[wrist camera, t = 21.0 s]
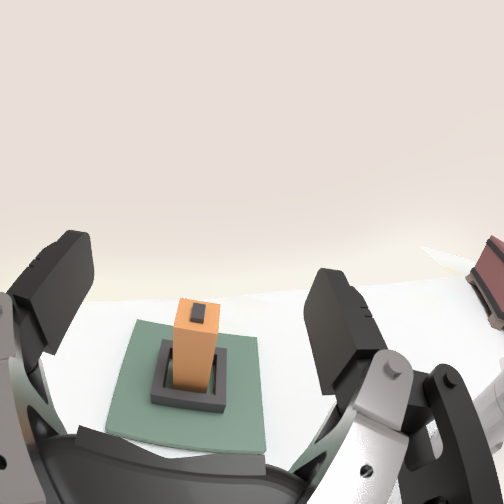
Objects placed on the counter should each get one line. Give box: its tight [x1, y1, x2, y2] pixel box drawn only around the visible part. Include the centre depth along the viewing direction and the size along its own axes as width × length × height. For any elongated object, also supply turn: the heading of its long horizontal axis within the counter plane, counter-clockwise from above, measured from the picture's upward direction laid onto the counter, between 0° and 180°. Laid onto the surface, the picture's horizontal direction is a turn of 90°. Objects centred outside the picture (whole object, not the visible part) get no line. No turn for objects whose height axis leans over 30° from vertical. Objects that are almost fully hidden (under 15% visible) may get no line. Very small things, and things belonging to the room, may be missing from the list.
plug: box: [173, 298, 220, 394], centre depth 28 cm, size 4×4×13 cm
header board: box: [105, 319, 266, 454], centre depth 31 cm, size 18×18×4 cm
